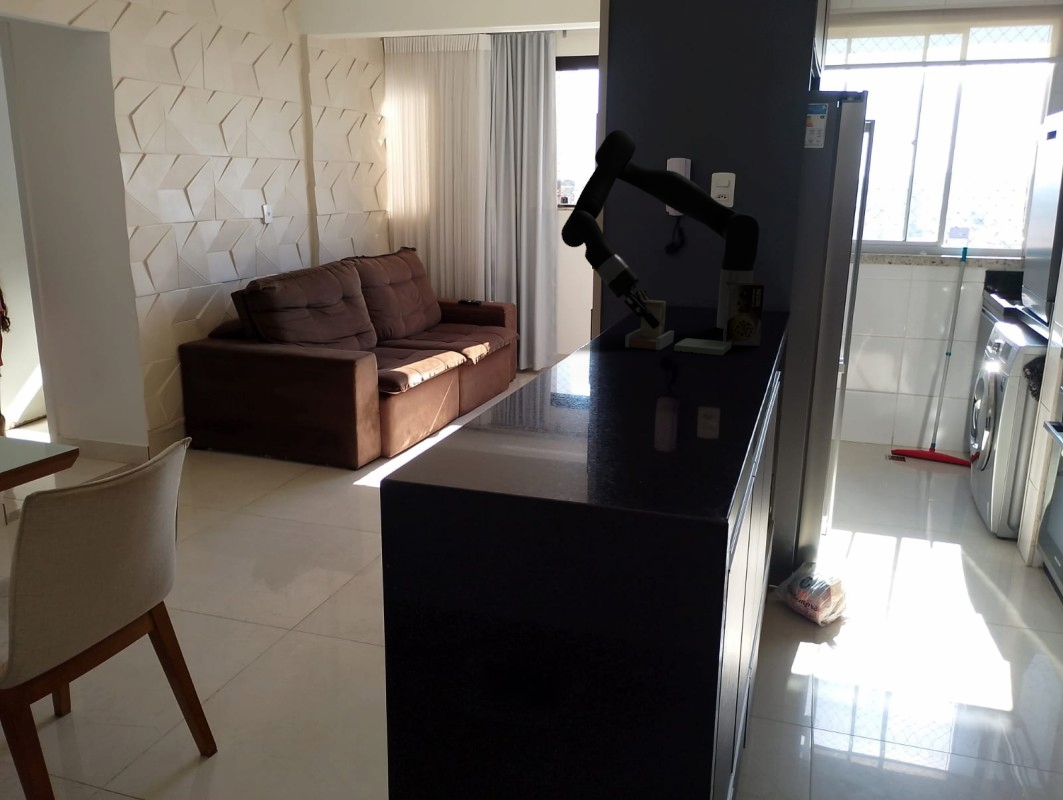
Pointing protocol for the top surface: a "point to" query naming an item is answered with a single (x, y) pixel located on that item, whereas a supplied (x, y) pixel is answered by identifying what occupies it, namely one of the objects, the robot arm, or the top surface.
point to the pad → (703, 346)
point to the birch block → (659, 313)
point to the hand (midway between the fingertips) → (659, 324)
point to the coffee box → (743, 313)
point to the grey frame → (648, 340)
